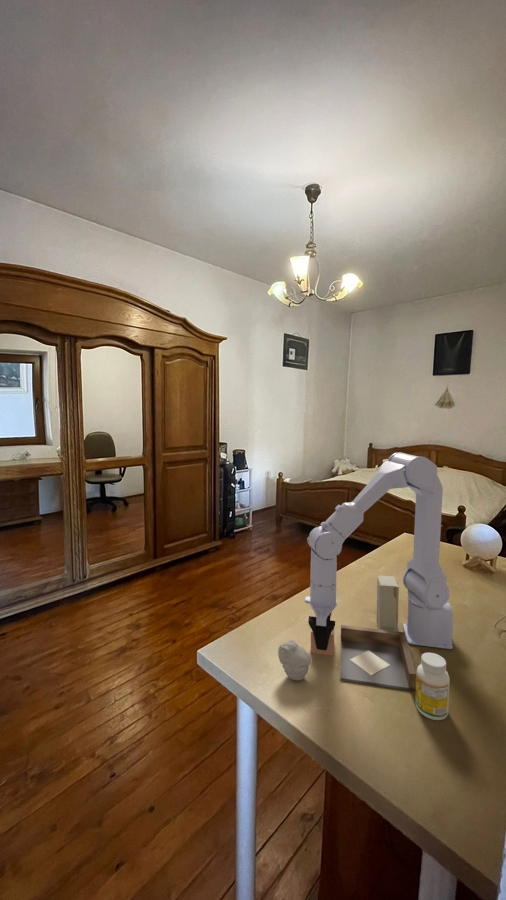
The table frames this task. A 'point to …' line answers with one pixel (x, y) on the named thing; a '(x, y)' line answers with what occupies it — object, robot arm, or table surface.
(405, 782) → the table surface
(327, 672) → the table surface
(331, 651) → the cube
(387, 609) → the skincare box
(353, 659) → the tray
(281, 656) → the frog figurine
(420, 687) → the supplement bottle
